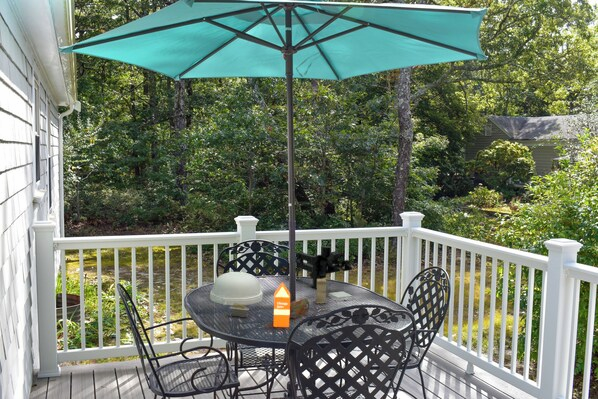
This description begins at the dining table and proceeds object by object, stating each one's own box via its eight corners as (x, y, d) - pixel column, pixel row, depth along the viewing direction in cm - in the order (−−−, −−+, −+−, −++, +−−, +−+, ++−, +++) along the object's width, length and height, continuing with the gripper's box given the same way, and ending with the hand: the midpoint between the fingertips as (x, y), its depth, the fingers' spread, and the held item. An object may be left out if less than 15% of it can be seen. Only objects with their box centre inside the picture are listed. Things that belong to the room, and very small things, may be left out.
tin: (291, 320, 283) (292, 303, 282) (286, 318, 285) (287, 302, 284) (309, 313, 295) (310, 297, 294) (304, 312, 297) (305, 296, 296)
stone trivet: (328, 297, 328) (328, 292, 328) (342, 296, 333) (343, 291, 332) (337, 302, 319) (337, 297, 319) (352, 300, 324) (352, 295, 324)
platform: (227, 311, 294) (227, 299, 293) (260, 315, 290) (260, 302, 289) (218, 318, 282) (219, 305, 282) (253, 322, 278) (253, 309, 278)
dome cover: (249, 308, 300) (249, 283, 298) (199, 301, 309) (199, 276, 308) (271, 294, 330) (272, 270, 329) (225, 288, 340) (225, 265, 338)
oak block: (315, 301, 318) (316, 278, 317) (324, 301, 318) (325, 279, 317) (316, 303, 313) (317, 281, 312) (325, 304, 313) (326, 281, 312)
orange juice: (289, 321, 281) (290, 282, 279) (289, 327, 272) (290, 286, 270) (273, 320, 281) (274, 281, 279) (273, 326, 272) (274, 286, 270)
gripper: (317, 252, 333) (334, 257, 321) (341, 249, 344) (358, 254, 332) (316, 270, 334) (333, 276, 322) (340, 267, 345) (357, 273, 333)
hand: (345, 269), depth 327 cm, fingers open, 9 cm apart
